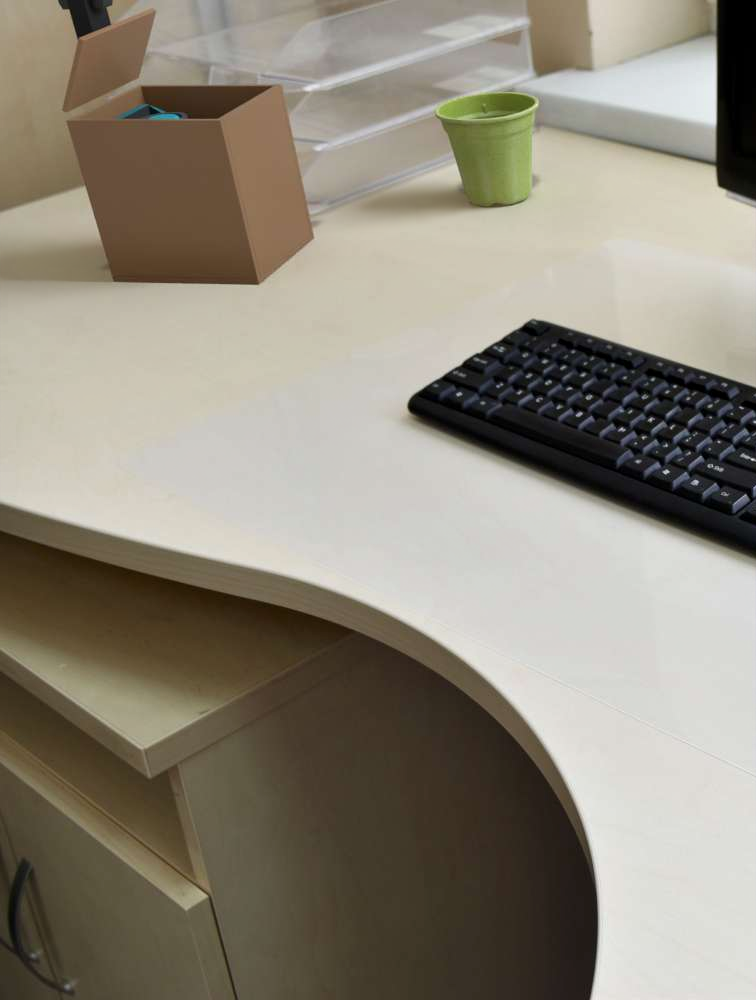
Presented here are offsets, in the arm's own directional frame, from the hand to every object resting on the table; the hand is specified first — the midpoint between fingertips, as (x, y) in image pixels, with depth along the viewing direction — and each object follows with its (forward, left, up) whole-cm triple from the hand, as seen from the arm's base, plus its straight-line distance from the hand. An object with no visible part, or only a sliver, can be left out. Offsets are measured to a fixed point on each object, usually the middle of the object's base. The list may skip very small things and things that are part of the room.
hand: (99, 50), depth 110 cm
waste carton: (+6, 0, -18) cm, 18 cm away
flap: (+1, 0, -1) cm, 1 cm away
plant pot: (+26, +17, -18) cm, 36 cm away
